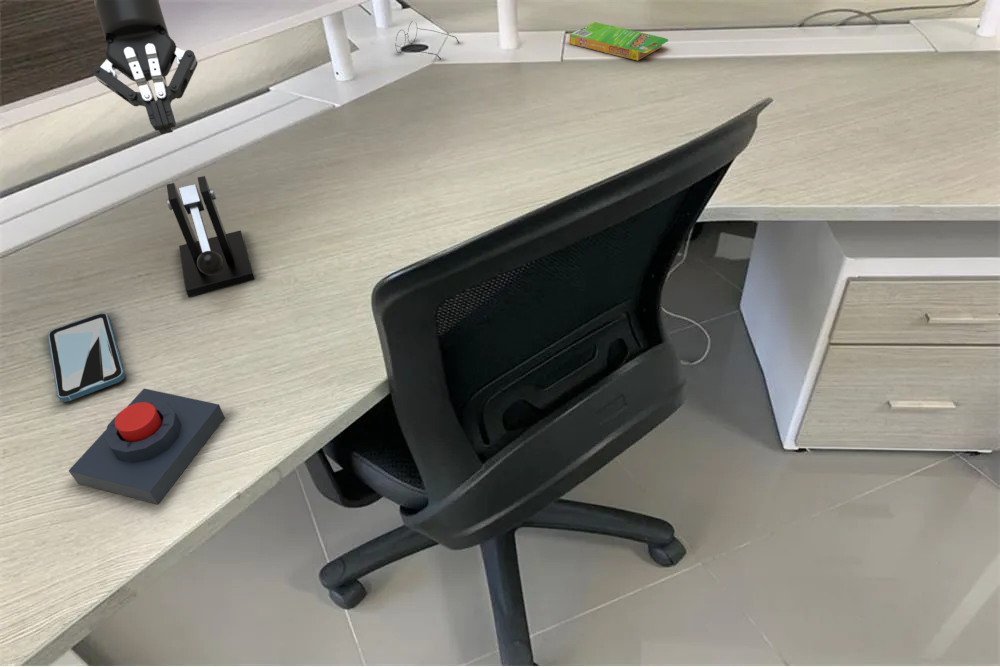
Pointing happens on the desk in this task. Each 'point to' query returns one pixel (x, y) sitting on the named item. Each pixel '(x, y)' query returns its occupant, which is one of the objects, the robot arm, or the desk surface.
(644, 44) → the game box
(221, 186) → the desk surface
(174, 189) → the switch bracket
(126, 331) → the desk surface
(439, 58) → the eyeglasses
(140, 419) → the button
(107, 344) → the smartphone
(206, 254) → the switch lever
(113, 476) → the button block
